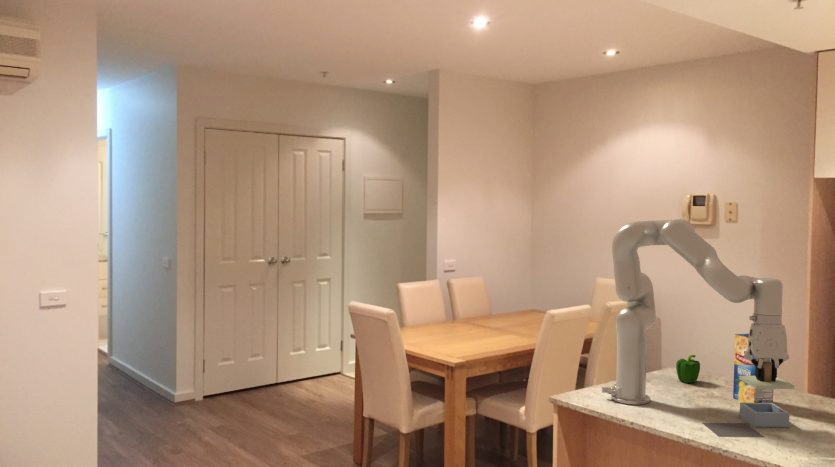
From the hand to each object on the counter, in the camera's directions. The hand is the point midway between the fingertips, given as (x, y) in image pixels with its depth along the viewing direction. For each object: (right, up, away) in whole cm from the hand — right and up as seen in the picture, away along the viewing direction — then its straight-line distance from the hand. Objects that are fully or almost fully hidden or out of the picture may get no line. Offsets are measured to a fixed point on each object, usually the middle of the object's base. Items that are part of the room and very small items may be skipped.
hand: (765, 379), depth 210 cm
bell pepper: (-5, -11, +48) cm, 49 cm away
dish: (0, -14, +1) cm, 14 cm away
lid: (0, -1, 0) cm, 1 cm away
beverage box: (+7, -13, +23) cm, 27 cm away
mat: (-13, -14, -6) cm, 20 cm away
